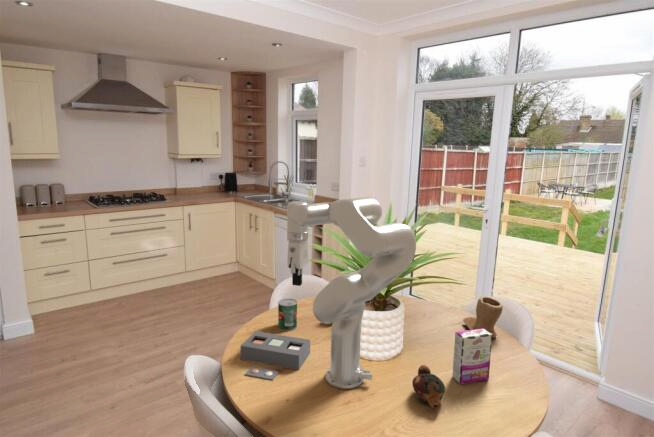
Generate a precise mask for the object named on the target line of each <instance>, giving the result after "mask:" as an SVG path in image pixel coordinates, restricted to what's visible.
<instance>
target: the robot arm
mask: <svg viewBox="0 0 654 437" xmlns="http://www.w3.org/2000/svg"><path fill="white" fill-rule="evenodd" d="M286 209H287V210H286V211H287V213H286V214H287V215H286V219H287V221H286V228H287V229H286V230H287V231H286V235H287V236H286V240H287V241H288V245H287V268H288V269H290V273H291V275H292V276H291V277H292V280H291V281H292V282H291V283H292V286H295V287H296V286H299V287H301V286H302V284H303V272H304V271H303V269H304V267H306V265H307V264H309V245H308V241H309V227H313V226H318V225H319V226H320V225H327V224H333V225H334V226H336V227H339V229H340V230H341V232H343V234H344V235H345V236H346V237H347V239H348V240H349V241H350V242H351V243H352V244H353V246H354V247H355V248H356V249H357V250H358V251H359V253H361V254H362V255H364V256H365V257H367V258H371V260H370V261H369V262H368V263H367V264H366V265H364V266H363V267H362V268H360V269H359V270H355V271H352V272H348V273H345V274H340V275H339V276H336V277H334V278H333V279H332V280H331V281H330V282H329V283H327V285H326V286H324V287H323V288H322V290H320V291H319V293H317V295H316V296H315V298H314V300H313V303H312V312H313V313H312V314H314V315H313V316H314V317H315V318H316V320H317V321H318V322H320V323H322V324H325V325H327V324H329V325H330V324H331V332H330V335H331V336H330V363H329V364H330V365H329V366H330V368H328V369H327V370H326V372H325V380H326V382H327V383H328V384H329V385H331V386H333V387H334V388H338V389H343V390H347V389H349V390H350V389H355V388H357V387H359V386H360V385H362V384H363V382H364V381H365V380H368V381H372V380H373V373H371V370H370V369H364V368H362V365H363V364H362V363H361V362H360V361H361V360H360V359H361V337H362V336H361V333H362V321H363V315H364V311H365V307H366V302H369V301H371V300H373V299H374V298H375V297H376V296H377V295H378V294H380V293H381V292H383V290H385V288H387V287H388V286H390V284H391V283H392V282H394V281H395V280H396V279H397V278H399V276H401V274H403V273H404V272H405V271H406V270H407V269H408V267H409V266H410V264H412V262H413V260H414V257H415V254H416V249H417V239H416V235H415V232H414V230H413V229H412V228H411V226H409V225H407V224H405V223H403V222H390V223H383V224H378V225H375V224H376V223H378V222H379V220H380V219H381V217H382V215H383V209H382V206H381V204H380V203H379V201H378V200H376V199H374V198H372V197H356V198H345V199H337V200H335V201H327V202H316V203H315V202H314V203H307V202H306V201H301V200H299V201H298V200H297V201H294V200H293V201H290V202H288V203H287V207H286Z"/></svg>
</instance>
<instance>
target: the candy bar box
mask: <svg viewBox="0 0 654 437" xmlns="http://www.w3.org/2000/svg"><path fill="white" fill-rule="evenodd" d="M492 343H493V338H492V334H491V333H490V332H488V331H487V330H486V329H484V328H482V329H475V330H470V329H469V330H467V329H466V330H461V331H455V332H454V346H453V347H454V349H453V364H452V378H453V379H454V380H455V381H457V383H458V384H459V385H464V384H470V383H476V382H482V381H488V380H489V379H490V366H491V354H492Z"/></svg>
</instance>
